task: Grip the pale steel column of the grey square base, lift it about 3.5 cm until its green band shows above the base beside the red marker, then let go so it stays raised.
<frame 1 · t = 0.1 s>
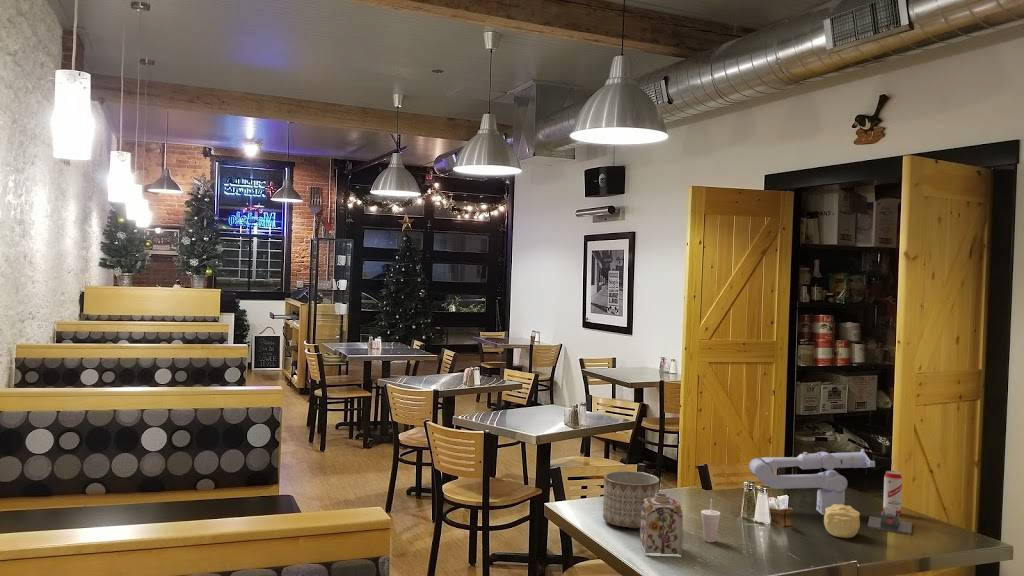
hand: (886, 459, 292), 22 cm above the table, tool horizontal, fingers open, 7 cm apart
smoothie: (709, 541, 256), on the table
beer can: (891, 514, 295), on the table
planter: (630, 524, 272), on the table
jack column: (890, 516, 279), point 4 cm above the table, slide at 0.0 cm
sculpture: (841, 535, 267), on the table
decorative jar: (660, 551, 245), on the table
grey square base: (889, 526, 279), on the table
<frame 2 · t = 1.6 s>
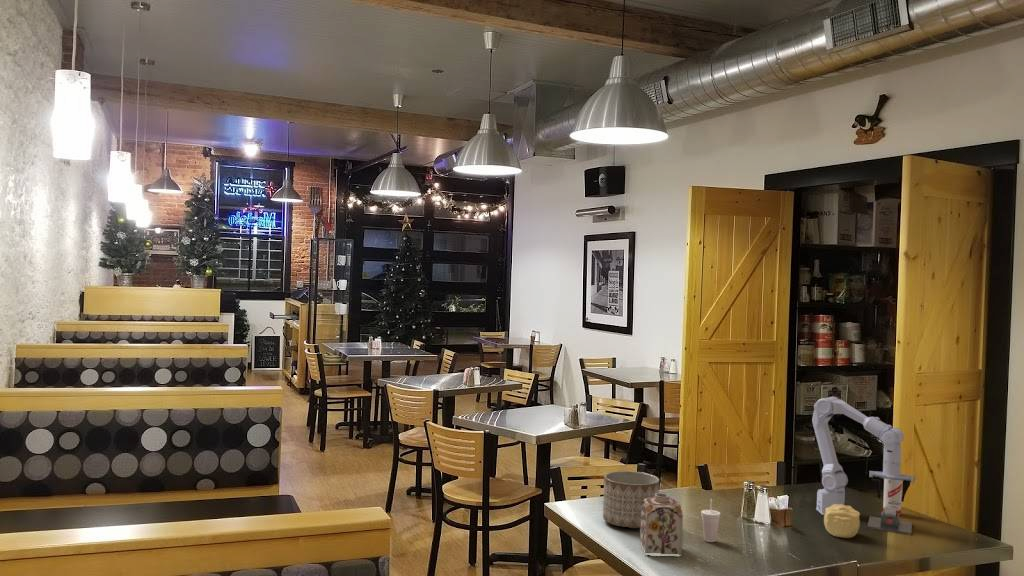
hand: (890, 499, 279), 10 cm above the table, tool pointing down, fingers open, 7 cm apart
nothing on the table moved.
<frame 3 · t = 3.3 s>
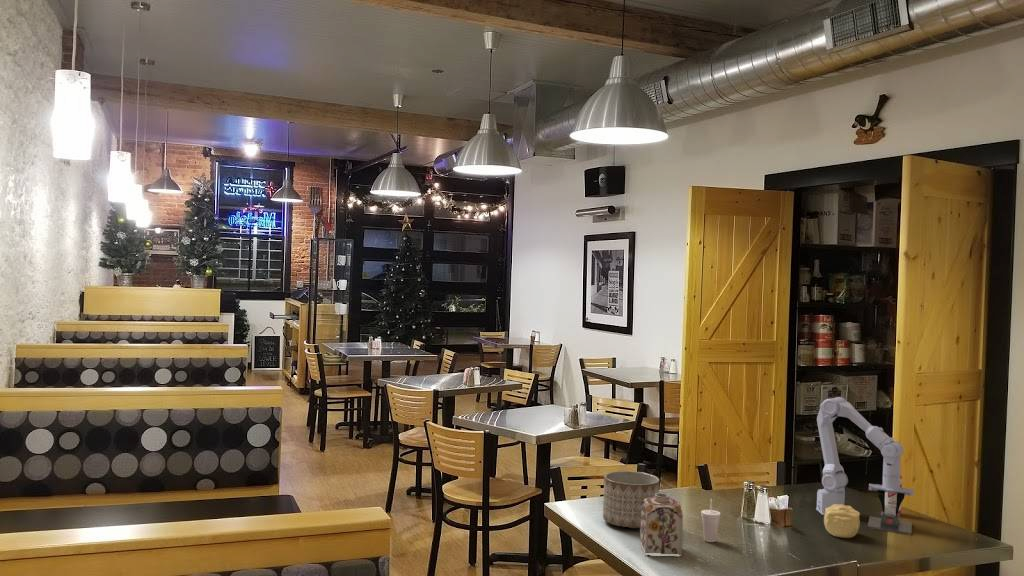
hand: (890, 512, 279), 5 cm above the table, tool pointing down, fingers closed on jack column, 4 cm apart
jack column: (890, 516, 279), point 4 cm above the table, slide at 0.0 cm, touching gripper
everything else where it was.
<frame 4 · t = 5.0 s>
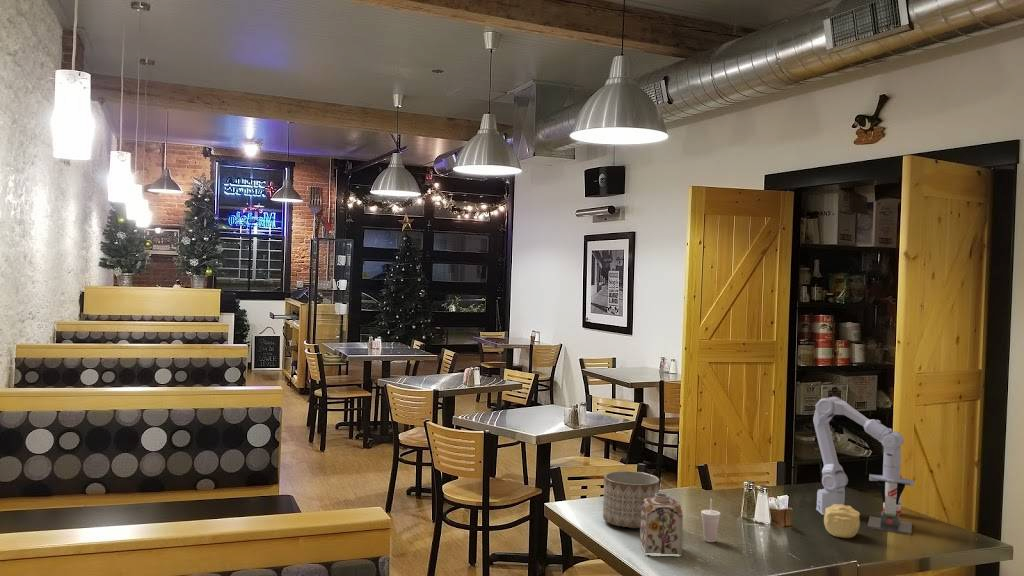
hand: (890, 502, 279), 9 cm above the table, tool pointing down, fingers closed on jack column, 4 cm apart
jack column: (890, 506, 279), point 7 cm above the table, slide at 3.4 cm, touching gripper
everything else where it was.
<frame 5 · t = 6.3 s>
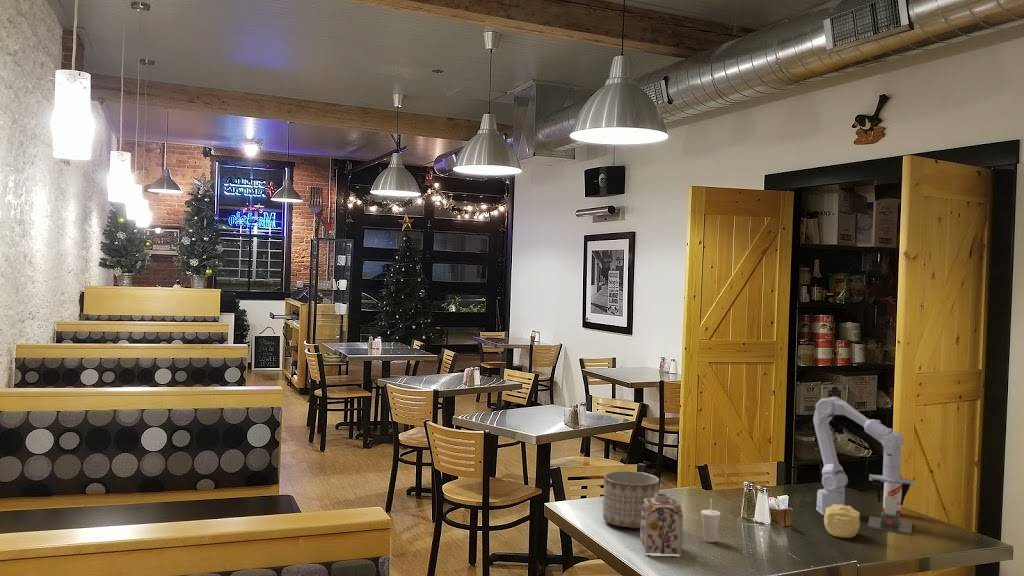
hand: (890, 502, 279), 9 cm above the table, tool pointing down, fingers open, 7 cm apart
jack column: (890, 506, 279), point 7 cm above the table, slide at 3.4 cm
everything else where it was.
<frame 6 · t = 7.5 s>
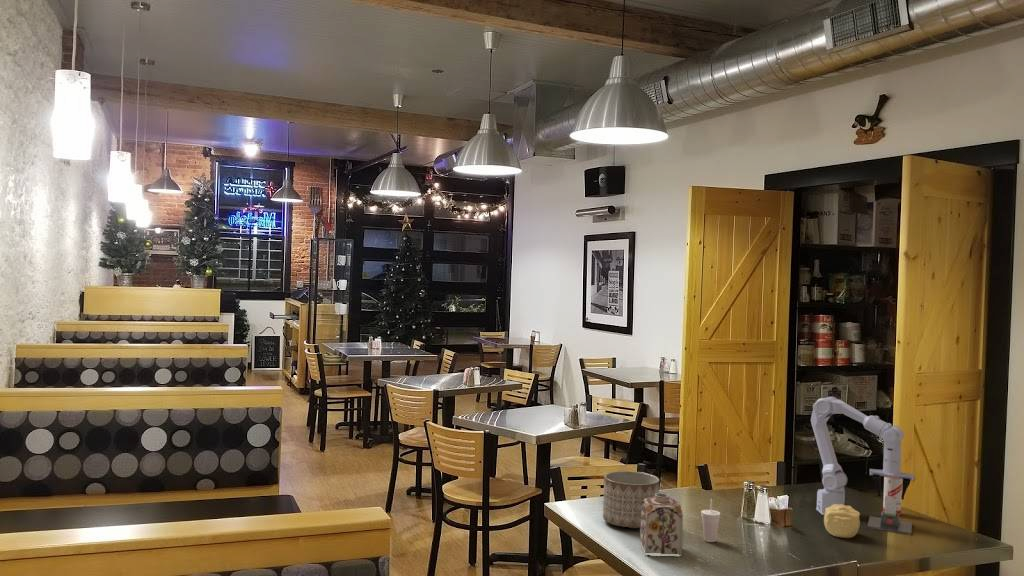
hand: (890, 497, 280), 10 cm above the table, tool pointing down, fingers open, 7 cm apart
nothing on the table moved.
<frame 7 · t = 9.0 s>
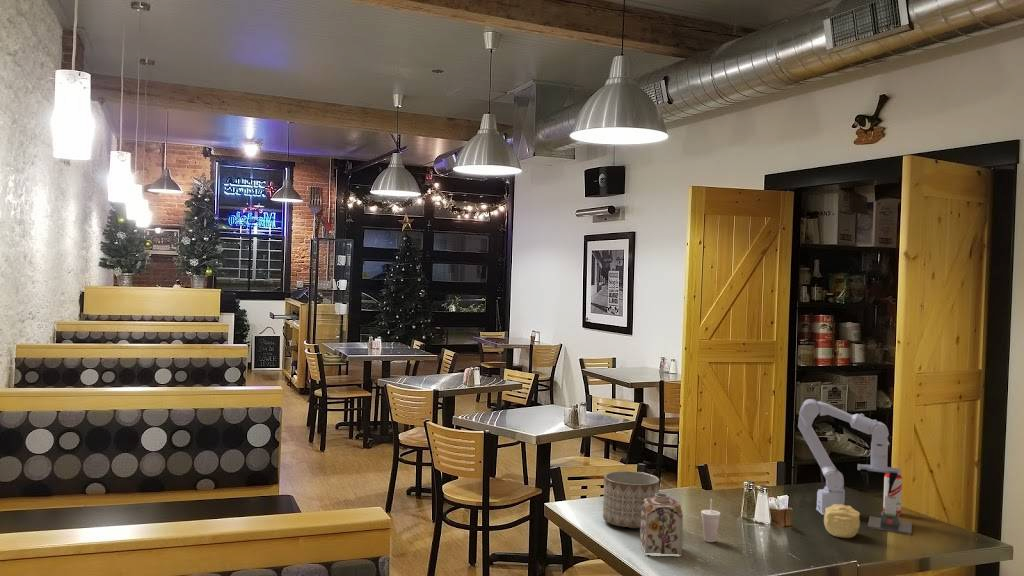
hand: (878, 491, 288), 10 cm above the table, tool pointing down, fingers open, 7 cm apart
nothing on the table moved.
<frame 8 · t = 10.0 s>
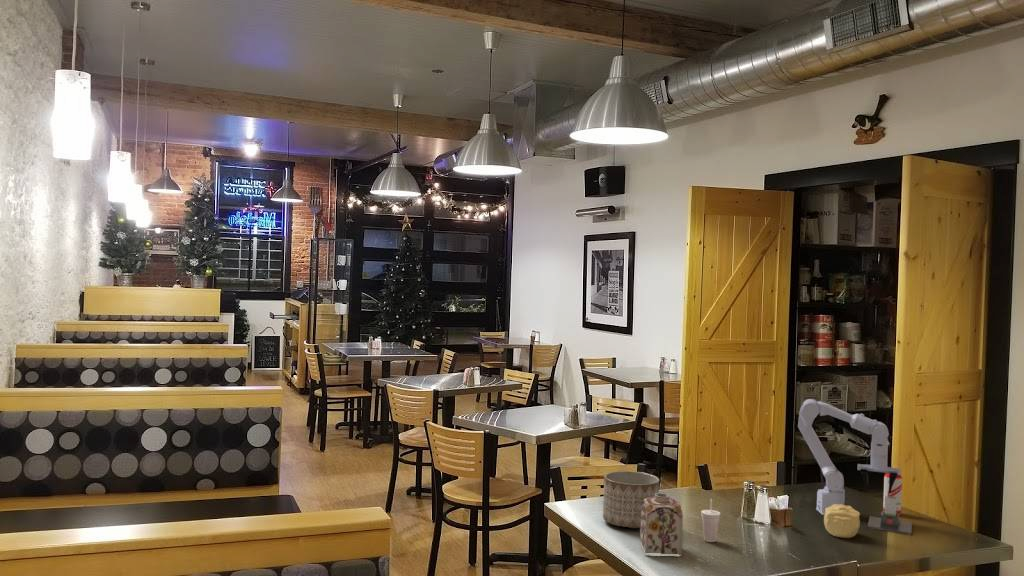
hand: (878, 491, 288), 10 cm above the table, tool pointing down, fingers open, 7 cm apart
nothing on the table moved.
at the end: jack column slide at 3.4 cm; the gripper is holding nothing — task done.
